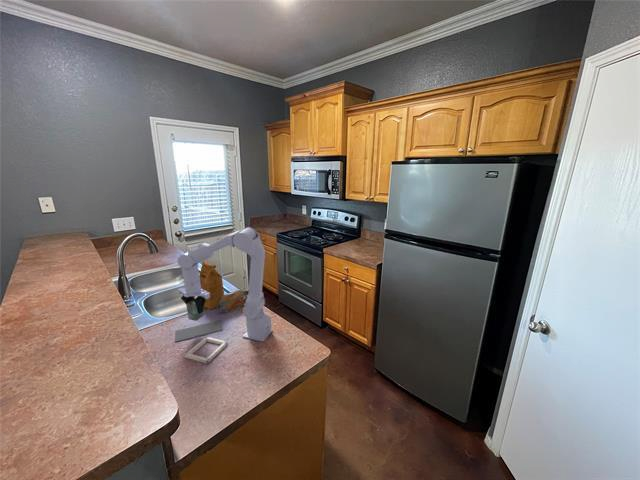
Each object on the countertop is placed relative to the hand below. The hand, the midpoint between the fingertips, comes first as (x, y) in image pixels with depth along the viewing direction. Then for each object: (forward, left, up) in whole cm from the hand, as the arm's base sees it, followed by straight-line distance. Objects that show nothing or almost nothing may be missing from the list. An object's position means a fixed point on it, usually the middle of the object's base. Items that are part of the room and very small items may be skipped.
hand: (196, 311), depth 108 cm
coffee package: (+11, -21, -10) cm, 26 cm away
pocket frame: (-12, +9, -9) cm, 18 cm away
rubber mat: (0, 0, -9) cm, 9 cm away
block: (0, 0, -2) cm, 3 cm away
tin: (-2, -20, -10) cm, 22 cm away
